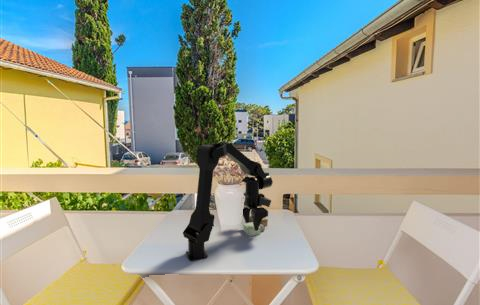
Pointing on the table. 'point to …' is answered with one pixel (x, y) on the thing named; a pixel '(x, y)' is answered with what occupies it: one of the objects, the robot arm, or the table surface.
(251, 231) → the hinge leaf
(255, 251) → the table surface
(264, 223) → the hinge base
